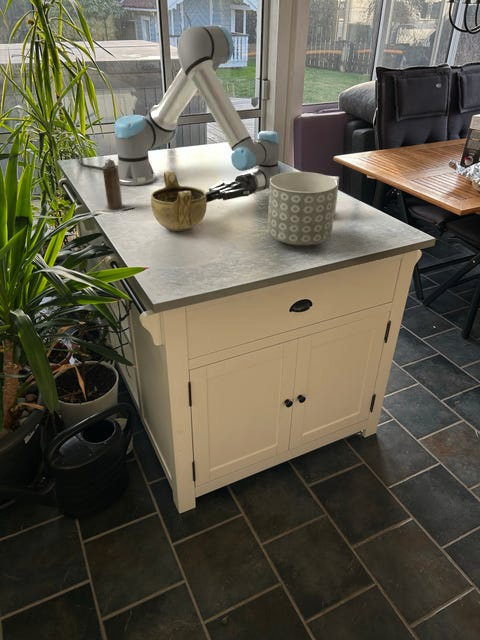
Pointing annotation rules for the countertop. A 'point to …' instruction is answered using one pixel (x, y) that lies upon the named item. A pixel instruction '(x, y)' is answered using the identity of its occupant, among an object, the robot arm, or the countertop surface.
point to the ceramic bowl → (178, 204)
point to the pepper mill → (112, 185)
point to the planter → (301, 208)
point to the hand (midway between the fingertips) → (200, 199)
